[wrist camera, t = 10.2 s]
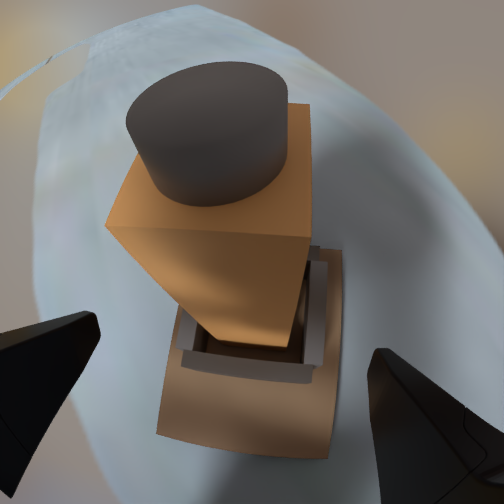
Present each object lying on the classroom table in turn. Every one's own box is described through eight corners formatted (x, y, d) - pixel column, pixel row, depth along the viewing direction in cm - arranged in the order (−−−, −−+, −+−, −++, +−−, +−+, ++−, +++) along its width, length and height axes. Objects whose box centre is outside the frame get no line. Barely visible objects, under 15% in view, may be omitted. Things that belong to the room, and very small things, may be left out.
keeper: (324, 454, 14) (337, 470, 11) (162, 431, 16) (135, 439, 12) (338, 257, 21) (350, 228, 17) (197, 246, 22) (183, 216, 19)
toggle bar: (285, 351, 17) (322, 175, 3) (223, 344, 18) (65, 178, 4) (291, 292, 19) (312, 54, 5) (232, 287, 19) (149, 64, 6)
